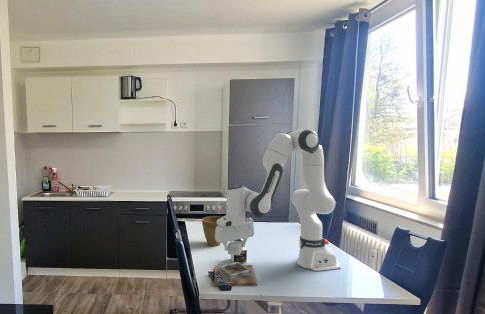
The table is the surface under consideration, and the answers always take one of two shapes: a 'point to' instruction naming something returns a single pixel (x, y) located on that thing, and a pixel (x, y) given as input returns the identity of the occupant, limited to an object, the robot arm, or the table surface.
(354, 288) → the table surface
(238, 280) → the pocket board
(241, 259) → the medicine bottle
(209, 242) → the plant pot
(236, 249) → the small box
